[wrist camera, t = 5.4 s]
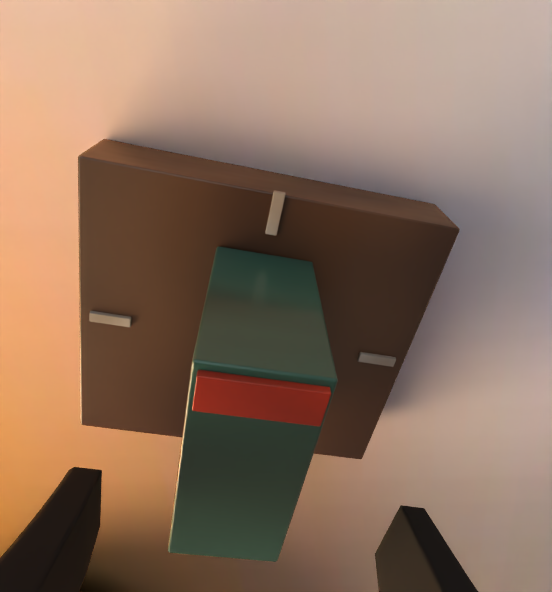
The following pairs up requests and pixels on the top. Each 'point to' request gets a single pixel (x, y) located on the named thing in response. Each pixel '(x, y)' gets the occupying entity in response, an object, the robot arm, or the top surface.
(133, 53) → the top surface
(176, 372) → the stand
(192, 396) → the tin
